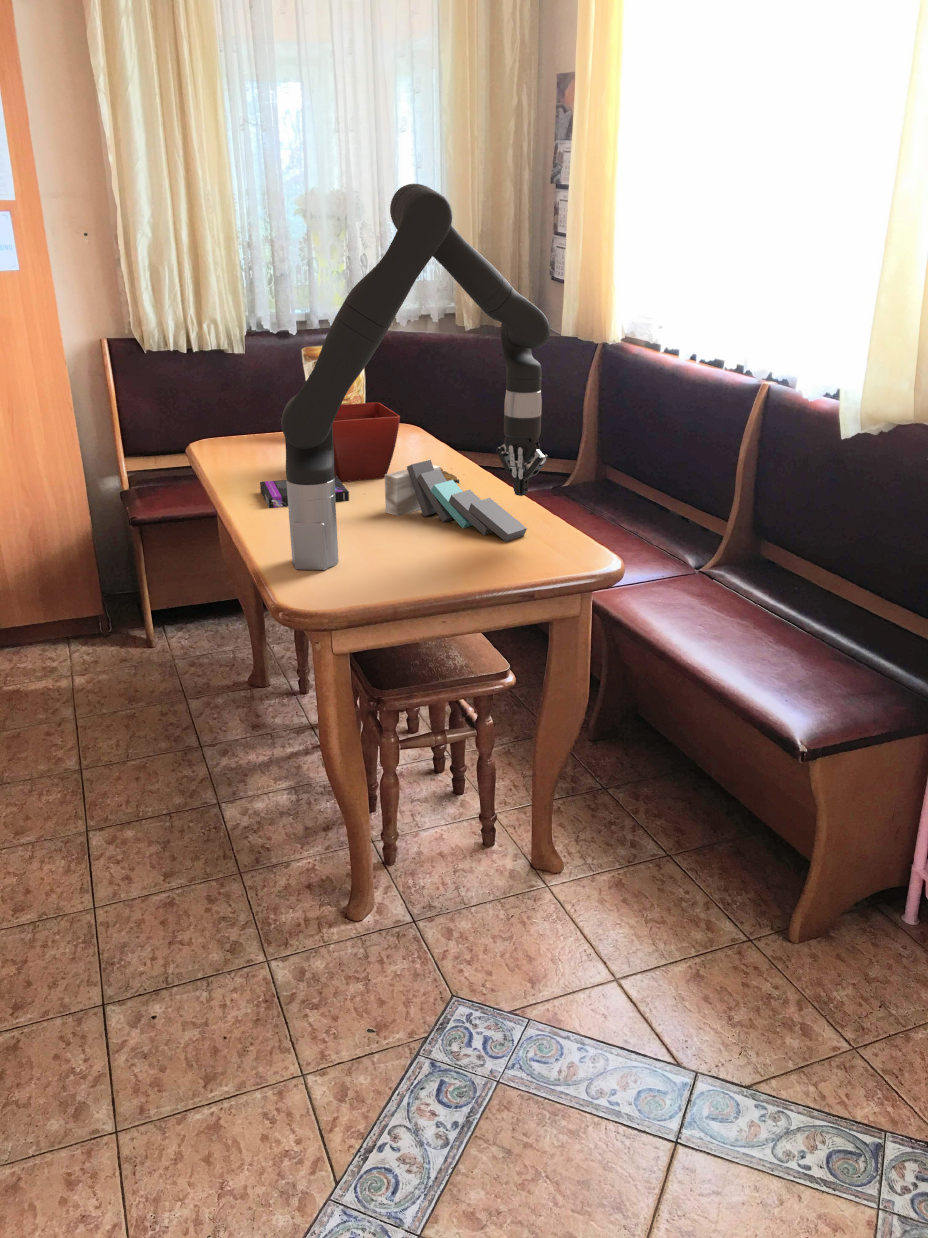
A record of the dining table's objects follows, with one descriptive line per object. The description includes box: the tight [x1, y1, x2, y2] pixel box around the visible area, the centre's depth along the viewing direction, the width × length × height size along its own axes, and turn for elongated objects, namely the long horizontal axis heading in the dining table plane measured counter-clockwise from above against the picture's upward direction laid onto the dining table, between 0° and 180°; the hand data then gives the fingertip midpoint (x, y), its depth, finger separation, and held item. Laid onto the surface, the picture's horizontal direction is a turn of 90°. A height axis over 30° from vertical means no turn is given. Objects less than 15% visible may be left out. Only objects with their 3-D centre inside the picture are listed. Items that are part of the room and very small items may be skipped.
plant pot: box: [333, 402, 401, 483], centre depth 252 cm, size 19×19×17 cm
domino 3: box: [431, 480, 473, 529], centre depth 218 cm, size 2×6×12 cm
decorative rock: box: [439, 466, 460, 485], centre depth 247 cm, size 11×4×15 cm
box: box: [259, 476, 350, 509], centre depth 236 cm, size 14×4×20 cm
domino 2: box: [417, 469, 455, 523], centre depth 221 cm, size 2×6×12 cm
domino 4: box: [449, 489, 494, 536], centre depth 214 cm, size 2×6×12 cm
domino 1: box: [406, 459, 437, 517], centre depth 223 cm, size 2×6×12 cm, turn 136°
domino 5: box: [468, 497, 528, 543], centre depth 210 cm, size 2×6×12 cm
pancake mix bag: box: [300, 345, 366, 405], centre depth 285 cm, size 7×19×28 cm, turn 111°
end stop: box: [384, 464, 441, 517], centre depth 227 cm, size 4×14×9 cm, turn 136°
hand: (520, 494), depth 204 cm, fingers closed
